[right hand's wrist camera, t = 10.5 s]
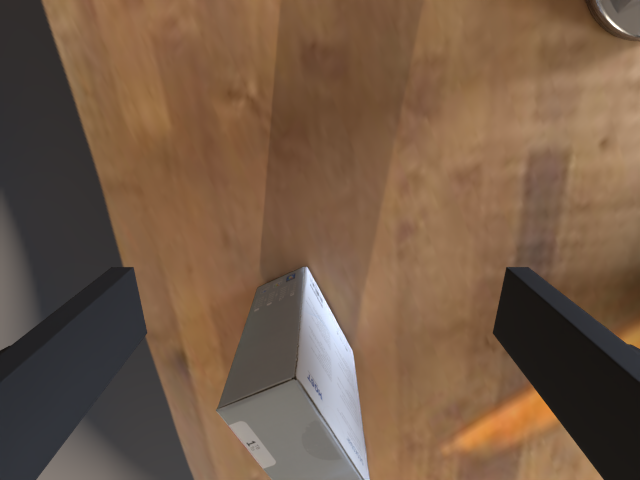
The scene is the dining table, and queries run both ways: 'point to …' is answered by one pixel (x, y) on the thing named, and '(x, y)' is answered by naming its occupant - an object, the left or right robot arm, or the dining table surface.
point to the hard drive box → (296, 387)
